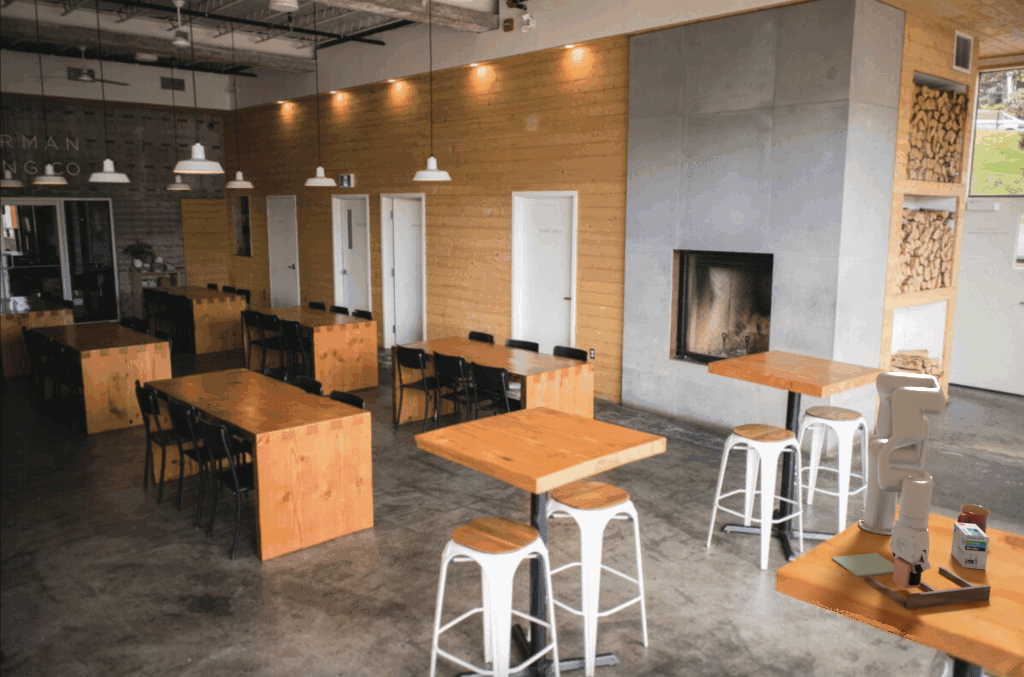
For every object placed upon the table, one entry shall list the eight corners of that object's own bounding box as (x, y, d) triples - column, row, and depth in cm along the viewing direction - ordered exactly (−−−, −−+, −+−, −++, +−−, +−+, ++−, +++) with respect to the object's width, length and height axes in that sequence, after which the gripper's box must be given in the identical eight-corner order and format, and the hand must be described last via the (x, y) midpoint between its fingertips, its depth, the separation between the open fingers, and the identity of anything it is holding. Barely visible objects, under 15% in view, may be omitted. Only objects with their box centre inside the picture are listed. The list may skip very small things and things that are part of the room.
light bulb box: (986, 570, 232) (990, 537, 230) (962, 568, 233) (966, 535, 232) (972, 555, 243) (976, 523, 241) (949, 553, 244) (953, 521, 242)
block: (892, 580, 220) (895, 557, 219) (907, 578, 221) (909, 556, 220) (905, 588, 215) (907, 565, 214) (920, 586, 216) (922, 564, 215)
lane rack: (864, 579, 225) (865, 567, 224) (941, 571, 231) (942, 558, 230) (907, 609, 208) (909, 596, 207) (989, 599, 214) (990, 586, 214)
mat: (831, 559, 238) (831, 557, 238) (875, 554, 242) (875, 552, 242) (857, 576, 227) (857, 575, 226) (902, 571, 230) (903, 570, 230)
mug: (968, 531, 261) (971, 502, 259) (993, 541, 253) (996, 512, 251) (944, 536, 256) (947, 507, 255) (968, 547, 248) (972, 517, 247)
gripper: (880, 509, 222) (875, 567, 225) (924, 533, 206) (917, 596, 209) (902, 507, 224) (896, 565, 227) (947, 531, 208) (940, 593, 211)
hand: (906, 579), depth 218 cm, fingers closed on block, 5 cm apart
